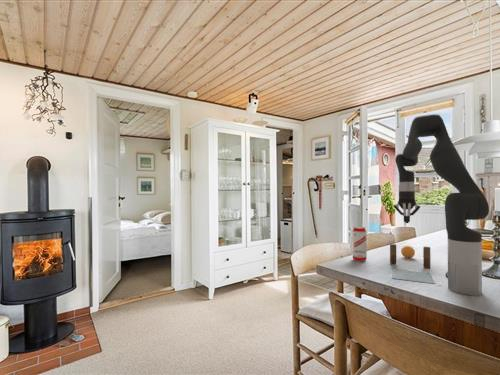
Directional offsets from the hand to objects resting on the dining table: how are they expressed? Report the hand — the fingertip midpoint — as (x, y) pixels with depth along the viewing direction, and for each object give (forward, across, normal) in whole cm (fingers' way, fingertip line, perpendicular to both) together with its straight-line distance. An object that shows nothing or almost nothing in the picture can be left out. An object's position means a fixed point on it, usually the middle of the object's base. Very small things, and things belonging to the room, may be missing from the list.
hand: (406, 222), depth 149 cm
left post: (+16, -6, -27) cm, 32 cm away
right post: (+16, +7, -27) cm, 32 cm away
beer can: (+16, -21, -27) cm, 38 cm away
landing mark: (+16, 0, -43) cm, 46 cm away
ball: (+13, 0, -11) cm, 17 cm away
